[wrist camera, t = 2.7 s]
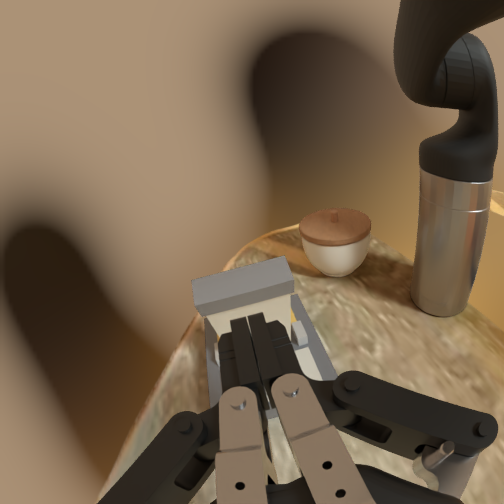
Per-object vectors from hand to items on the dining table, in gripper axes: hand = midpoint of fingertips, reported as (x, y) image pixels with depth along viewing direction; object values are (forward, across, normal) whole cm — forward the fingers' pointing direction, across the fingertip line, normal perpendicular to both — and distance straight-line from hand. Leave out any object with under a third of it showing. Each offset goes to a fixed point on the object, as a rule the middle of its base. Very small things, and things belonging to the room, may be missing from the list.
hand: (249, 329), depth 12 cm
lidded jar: (+25, -15, +16) cm, 33 cm away
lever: (+10, 0, +12) cm, 16 cm away
